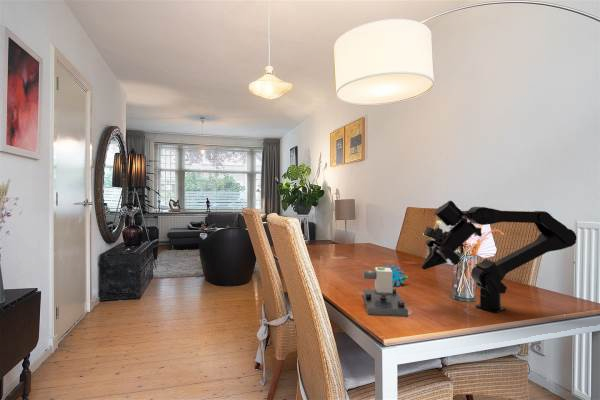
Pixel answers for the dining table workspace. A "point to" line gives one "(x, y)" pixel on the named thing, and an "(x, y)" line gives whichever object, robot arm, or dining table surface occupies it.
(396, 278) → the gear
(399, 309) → the base
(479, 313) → the dining table surface
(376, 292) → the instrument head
